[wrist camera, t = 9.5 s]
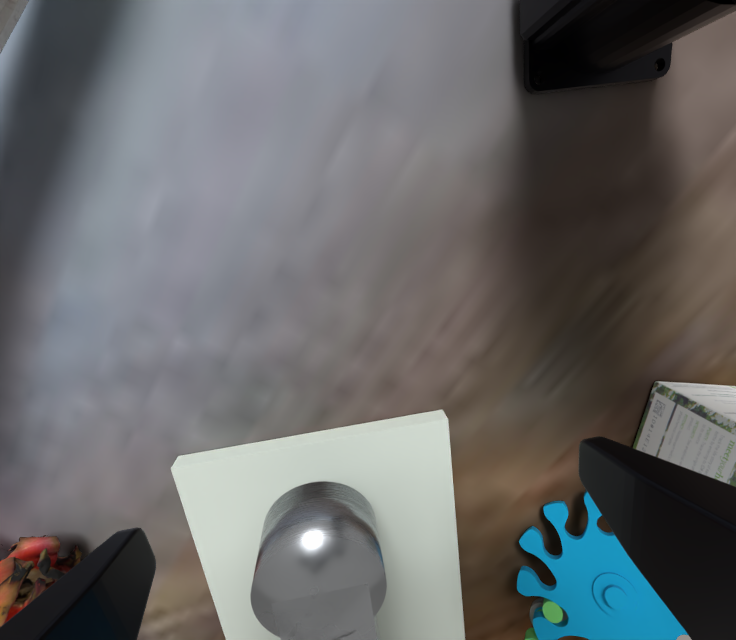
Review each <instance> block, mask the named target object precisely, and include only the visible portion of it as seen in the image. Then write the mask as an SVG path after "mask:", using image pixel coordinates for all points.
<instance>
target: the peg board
mask: <svg viewBox="0 0 736 640" xmlns="http://www.w3.org/2000/svg"><path fill="white" fill-rule="evenodd" d="M171 471H172V474H173V477H174V480H175V483H176V486H177V489H178V492H179V495H180V499H181V502H182V505H183V508H184V511H185V514H186V517H187V520H188V523H189V526H190V530H191V533H192V536H193V539H194V542H195V545H196V548H197V551H198V554H199V557H200V561H201V564H202V567H203V570H204V573H205V576H206V579H207V582H208V585H209V588H210V592H211V595H212V598H213V601H214V604H215V607H216V610H217V613H218V616H219V619H220V623H221V626H222V629H223V632H224V635H225V638H226V640H281V638H280V637H278V636H276V635H274V634H272V633H271V632H269V631H268V630H267V629H266V628H264V627H263V626H262V625H261V623H260V622H259V621H258V620H257V618H256V616H255V615H254V612H253V609H252V606H251V597H250V594H251V587H252V582H253V577H254V572H255V566H256V561H257V556H258V551H259V545H260V540H261V535H262V530H263V524H264V520H265V517H266V515H267V513H268V511H269V509H270V508H271V506H272V505H273V504H274V503H275V501H276V500H277V499H278V498H280V497H281V496H282V495H283V494H285V493H286V492H288V491H289V490H291V489H293V488H295V487H297V486H300V485H303V484H307V483H311V482H318V481H328V482H336V483H341V484H344V485H347V486H349V487H351V488H353V489H355V490H357V491H358V492H360V493H361V494H362V495H363V496H364V497H365V498H366V499H367V500H368V501H369V503H370V505H371V506H372V508H373V511H374V514H375V518H376V523H377V529H378V535H379V540H380V546H381V552H382V557H383V563H384V569H385V575H386V581H387V589H386V595H385V599H384V602H383V604H382V606H381V608H380V610H379V611H378V613H377V614H376V618H377V624H378V630H379V636H380V640H465V631H464V619H463V606H462V593H461V580H460V567H459V554H458V541H457V528H456V515H455V502H454V489H453V477H452V464H451V451H450V438H449V425H448V418H447V417H446V415H445V413H444V412H443V410H437V411H431V412H425V413H420V414H414V415H408V416H403V417H397V418H391V419H386V420H380V421H374V422H369V423H363V424H357V425H352V426H346V427H340V428H335V429H329V430H323V431H318V432H312V433H306V434H301V435H295V436H289V437H284V438H278V439H272V440H267V441H261V442H255V443H250V444H244V445H238V446H233V447H227V448H222V449H216V450H210V451H205V452H199V453H193V454H188V455H182V456H178V457H177V459H176V461H175V462H174V464H173V466H172V467H171Z"/></svg>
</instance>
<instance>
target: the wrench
mask: <svg viewBox="0 0 736 640" xmlns="http://www.w3.org/2000/svg"><path fill="white" fill-rule="evenodd" d="M28 2H29V0H0V53H1V51H2V49H3V48H4V46H5V44H6V42H7V40H8V38H9V37H10V35H11V33H12V31H13V29H14V27H15V26H16V24H17V22H18V20H19V18H20V16H21V14H22V13H23V11H24V9H25V7H26V5H27V3H28Z"/></svg>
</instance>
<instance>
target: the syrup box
mask: <svg viewBox="0 0 736 640" xmlns="http://www.w3.org/2000/svg"><path fill="white" fill-rule="evenodd" d="M633 448H634V449H637V450H639V451H642V452H645V453H647V454H650V455H653V456H655V457H658V458H661V459H663V460H666V461H669V462H671V463H674V464H677V465H679V466H682V467H685V468H687V469H690V470H693V471H695V472H698V473H701V474H703V475H706V476H709V477H711V478H714V479H717V480H719V481H722V482H725V483H727V484H730V485H733V486H735V487H736V386H725V385H710V384H694V383H677V382H662V381H656V382H655V383H654V386H653V389H652V391H651V394H650V397H649V401H648V404H647V406H646V410H645V413H644V416H643V419H642V422H641V425H640V427H639V430H638V433H637V436H636V439H635V442H634V445H633Z"/></svg>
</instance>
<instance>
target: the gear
mask: <svg viewBox="0 0 736 640" xmlns="http://www.w3.org/2000/svg"><path fill="white" fill-rule="evenodd" d="M584 502H585V505H586V507H587V511H588V521H587V525H586V527H585V530H584V532H583V534H582V535H580V536H573V535H571V534H569V533H568V532H567V531H566V529H565V523H566V521H567V518H568V508H567V505H566V504H565V502H564V501H552V502H549V503H547V504H544V509H543V510H544V514H545V516H546V518H547V519H548V520H549V521H550V522H551V523H552V524H553V525H554V527H555V528H556V530H557V532H558V534H559V536H560V539H561V543H562V549H563V551H562V553H561V554H560V555H556V556H555V555H551V554H549V553H548V552H547V551H546V549H545V547H544V542H543V537H542V534H541V532H540V531H539V530H538V529H537V528H536V527H534V526H531V527H529V528H528V529H527V530H526V531H525V532H524V533H523V535H522V536H521V538H520V540H519V543H520V545H521V547H522V548H523V549H524V550H525V551H527V552H529V553H532V554H534V555H535V556H537V557H538V558H540V559H541V560H542V561H543V562H544V563H545V564H546V565H547V566H548V568H549V569H550V570H551V572H552V573H553V575H554V576H555V578H556V581H557V582H556V583H555V584H554V585H552V586H548V585H545V584H544V583H542V582H541V580H540V579H539V577H538V576H537V574H536V573H535V572H534V570H532V569H531V568H530V567H527V566H522V567H521V569H520V571H519V574H518V579H517V591H518V592H519V593H521V594H522V595H524V596H540V598H538V599H536V600H534V601H533V603H532V604H531V608H530V614H529V615H530V621H531V623H532V625H533V626H534V628H529V629H528V630H527V631H526V634H525V639H524V640H557V639H559V638H560V637H563V636H570V635H571V636H579V637H585V638H587V639H589V640H676V639H677V637H678V636H680V635H688V634H687V632H686V631H685V630H684V629H683V627H682V626H681V625H680V623H679V622H678V621H677V619H676V618H675V617H674V615H673V614H672V613H671V612H670V610H669V609H668V608H667V606H666V605H665V604H664V602H663V601H662V600H661V598H660V597H659V596H658V595H657V593H656V592H655V591H654V589H653V588H652V587H651V585H650V584H649V583H648V581H647V580H646V579H645V578H644V576H643V575H642V574H641V572H640V571H639V570H638V568H637V567H636V566H635V564H634V563H633V562H632V560H631V559H630V557H629V556H628V555H627V553H626V552H625V550H624V549H623V547H622V546H621V544H620V543H619V541H618V539H617V538H616V536H615V535H614V533H613V532H609V533H608V532H604V531H602V530H601V529H600V528H599V527H598V526H597V520H598V518H599V517H601V516H602V514H601V513H600V511H599V509H598V508H597V506H596V505H595V503H594V502H593V500H592V498H591V497H590V495H589V494H588V492H587V491H585V493H584Z"/></svg>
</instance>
